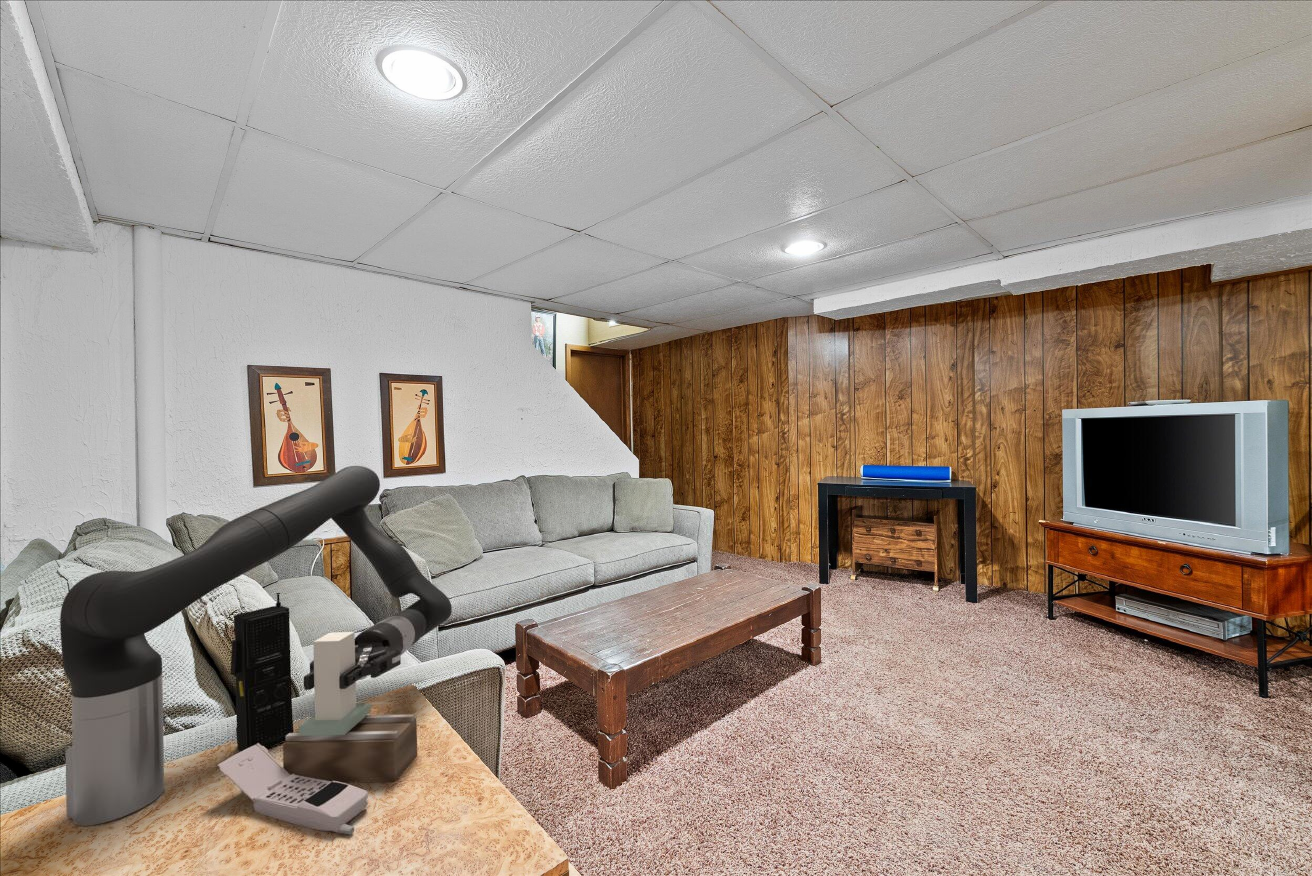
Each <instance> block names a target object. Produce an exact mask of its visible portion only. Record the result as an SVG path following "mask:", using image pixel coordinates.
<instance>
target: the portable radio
mask: <svg viewBox="0 0 1312 876" xmlns="http://www.w3.org/2000/svg"><path fill="white" fill-rule="evenodd" d="M280 594H281V592H277V593H275V595H276V599H277V600H276V603H275V605H273V606H269V607H268V606H267V607H264V608H260V609H259V608H258V609H255V610H251V611H247V612H243V613H239V614H235V615H233V632H234V639H232V641H231V655H230V659H231V660H230V675H231V676H234V677H235V705H236V706H235V708H236V709H235V710H236V712H235V713H236V716H235V717H236V728H235V733H236V749H237V750H238V751H239V752H241V751H243V750H245V749H247V748H249V747H252V746H254V745H256V744H258V743H259V744H260V745H261V746H264V747H265V748H266V749H267V750H268V749H270V748H272V747H274V746H277V745H279V744H281V743H282V744H283V743H284V742H286V735H288V734H289V733H294V721H293V720H294V719H293V718H294V717H293V700H292V699H293V698H292V697H293V693H292V692H293V691H292V673H291V672H292V671H291V669H292V668H291V665H292V663H291V661H292V660H291V629H290V628H291V627H290V626H291V625H290V608H289V607H286V606H284V605H282V603H281V601H280Z"/></svg>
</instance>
